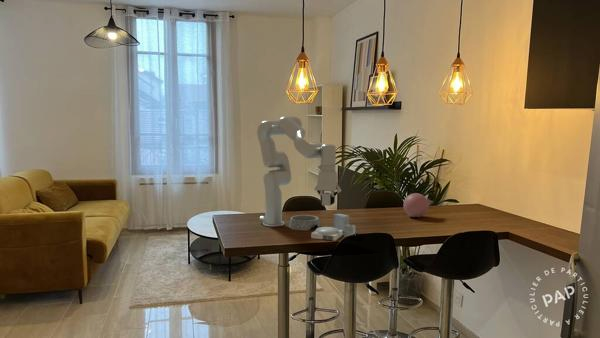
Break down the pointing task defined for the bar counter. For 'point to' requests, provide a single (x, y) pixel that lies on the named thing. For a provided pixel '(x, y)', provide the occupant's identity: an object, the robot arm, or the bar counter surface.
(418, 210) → the piggy bank
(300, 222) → the dog bowl
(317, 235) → the scale
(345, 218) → the medicine box
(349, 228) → the spacer
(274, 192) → the robot arm
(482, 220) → the bar counter surface
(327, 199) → the grey block with knob
